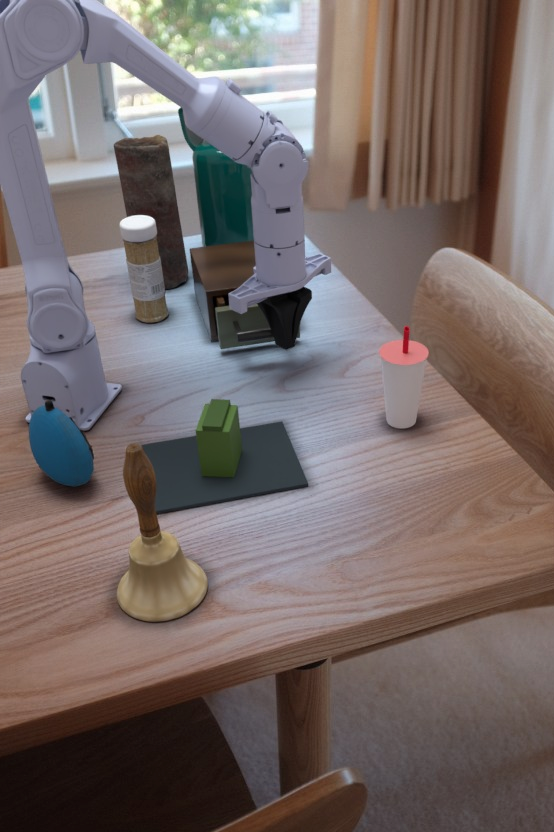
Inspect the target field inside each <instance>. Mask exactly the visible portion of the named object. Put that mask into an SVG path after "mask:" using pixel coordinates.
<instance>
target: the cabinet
mask: <svg viewBox="0 0 554 832" xmlns="http://www.w3.org/2000/svg"><path fill="white" fill-rule="evenodd" d="M189 256H190V264H191V273H192V280H193V281H192V282H193V289H194V296H195V300H196V302H197V305H198V307H199V310H200V314H201V317H202V320H203V322H204V324H205V327H206V330H207V333H208V335H209V339H210V341H211V342H219V339H218V330H217V321H216V319H215V314H214V305H213V297H212V296H220V295H227V294H229V293H230V292H232V291H234V290H236V289H237V288H239V287H240V286H241V285H242V284H243V283H245V282H246V281H247V280H248V279H249V278H250V277H251V276H253V275H254V271H253V267H255V266H256V261H255V248H254V241H246V242H238V243H230V244H222V245H214V246H206V247H202V246H198V247H191V248H189Z"/></svg>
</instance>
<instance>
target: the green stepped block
mask: <svg viewBox="0 0 554 832" xmlns="http://www.w3.org/2000/svg"><path fill="white" fill-rule="evenodd" d="M239 413H240V412H239V405H238V404H231V399H221V398H220V399H219V398H218V399H217V398H211V400H210V402H209V403H204V406H203V408H202V412H201V414H200V417H199V420H198V422H197V425H196V428H195V436H196V438H197V445H198V453H199V460H200V467H201V474H202V476H209V477H231V478H234V476H235V473H236V469H237V466H238V463H239V459H240V456H241V452H242V443H241V433H240V428H241V423H240V414H239Z"/></svg>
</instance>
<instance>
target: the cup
mask: <svg viewBox="0 0 554 832" xmlns="http://www.w3.org/2000/svg"><path fill="white" fill-rule="evenodd" d="M410 331H411V328H410V327H409V326H408V325H405V326H404V327H403V338H402V339H396V340H391V341H389V342H385V343H384V344H382V345H381V346H380V348H379V350H378V353H379V356H380V365H381V366H380V367H381V377H382V389H383V399H384V410H385V420H386V423H387V425H389V426H390V427H392V428H394V429H402V430H404V429H409V428H412V427H413V426H414V425H416V423H417V418H418V413H419V412H418V411H419V409H420V403H421V402H420V401H421V395H422V389H423V384H424V378H425V371H426V365H427V360H428V357H429V354H430V353H429V349H428V347H427V346H425V345H424V344H423V343H421V342H419V341H415V340H410Z"/></svg>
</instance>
